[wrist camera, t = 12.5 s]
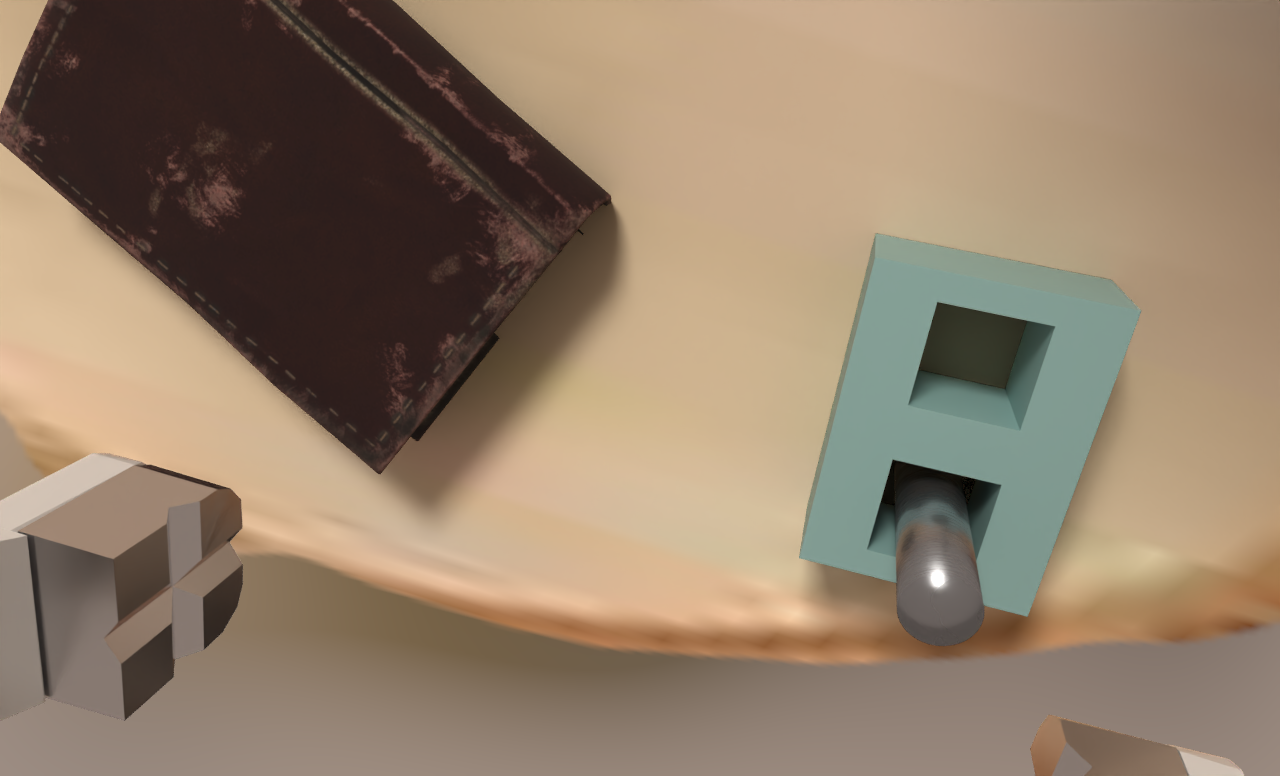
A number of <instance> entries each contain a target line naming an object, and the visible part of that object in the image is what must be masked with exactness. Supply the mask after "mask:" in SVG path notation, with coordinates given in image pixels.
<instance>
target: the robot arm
mask: <svg viewBox="0 0 1280 776" xmlns="http://www.w3.org/2000/svg"><path fill="white" fill-rule="evenodd" d="M241 529H242V511H241V499H240V498H239V497H238V496H237V495H236V494H235V493H234V492H233V491H232V490H231V489H230V488H226V487H223V486H220V485H216V484H213V483H210V482H206V481H203V480H200V479H196V478H193V477H190V476H186V475H183V474H180V473H176V472H173V471H170V470H166V469H163V468H159V467H156V466H153V465H146V464H144V463H143V462H139V461H135V460H132V459H128V458H124V457H121V456H117V455H113V454H106V453H92V454H90V455H88V456H86V457H84V458H82V459H80V460H78V461H77V462H75V463H73V464H71V465H69V466H67V467H65V468H63V469H61V470H59V471H57V472H55V473H53V474H51V475H49V476H47V477H45V478H43V479H41V480H40V481H38V482H36V483H34V484H32V485H30V486H28V487H26V488H24V489H22V490H20V491H18V492H16V493H14V494H12V495H11V496H8V497H6V498H5V499H3V500H1V501H0V721H1V720H4V719H6V718H8V717H11V716H13V715H16V714H18V713H20V712H23V711H25V710H28V709H30V708H32V707H35V706H37V705H40V704H42V703H44V702H45V698H49V699H52V700H56V701H59V702H62V703H66V704H70V705H73V706H76V707H80V708H83V709H86V710H90V711H93V712H97V713H100V714H103V715H107V716H110V717H114V718H117V719H121V720H124V721H125V720H126V719H127V718H128V717H129V716H131V715H132V714H133V713H134V712H135V711H136V710H137V709H138V708H139V707H141V706H142V705H143V704H144V703H145V702H146V701H147V700H148V699H150V698H151V697H152V696H153V695H154V694H155V693H156V692H157V691H159V690H160V689H161V688H162V687H163V686H164V685H165V684H166V683H167V682H169V681H170V680H171V679H172V678H173V677H174V666H175V665H174V664H175V659H178V658H181V657H183V656H187V655H190V654H193V653H196V652H199V651H202V650H204V649H205V648H206V647H207V646H209V645H210V644H211V643H212V642H213V641H214V640H215V639H216V638H217V637H218V636H219V635H220V634H221V633H222V632H223V631H224V629H225V627H226V626H227V624H228V622H229V620H230V619H231V617H232V615H233V613H234V612H235V610H236V608H237V606H238V601H239V597H240V593H241V589H242V585H243V564H242V562H241V561H240V559H239V557H238V556H237V554H236V552H235V551H234V549H233V547H232V546H231V544H230V541H231V540H232V539H233V538H234V536H235V535H236V534H237V533H238V532H239V531H240V530H241ZM1030 750H1031V755H1032V760H1033V765H1034V770H1035V775H1036V776H1244V774H1243V772H1242V770H1241V769H1240V768H1239V767H1238V766H1237V765H1236V764H1234V763H1233V762H1232V761H1231V760H1230V759H1227V758H1223V757H1219V756H1215V755H1210V754H1207V753H1203V752H1198V751H1194V750H1190V749H1186V748H1182V747H1178V746H1174V745H1170V744H1168V745H1164V744H1161V743H1157V742H1153V741H1149V740H1145V739H1141V738H1137V737H1134V736H1130V735H1126V734H1122V733H1118V732H1114V731H1111V730H1106V729H1103V728H1099V727H1095V726H1091V725H1088V724H1083V723H1080V722H1076V721H1072V720H1068V719H1064V718H1061V717H1057V716H1053V715H1048V716H1047V718H1046V719H1045V720H1044V722H1043V723H1042V724H1041V726H1040V727H1039V729H1038V732H1037V734H1036V736H1035V739H1034V741H1033V744H1032V746H1031V748H1030Z"/></svg>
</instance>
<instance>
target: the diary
mask: <svg viewBox="0 0 1280 776" xmlns="http://www.w3.org/2000/svg"><path fill="white" fill-rule="evenodd" d="M0 143H2V144H3V145H4V146H5V147H6V148H7V149H9V150H10V151H11V152H12V153H13V154H14V155H16V156H17V157H18V158H19V159H20V160H21V161H22V162H24V163H25V164H26V165H27V166H28V167H29V168H31V169H32V170H33V171H34V172H35V173H36V174H38V175H39V176H40V177H41V178H42V179H43V180H45V181H46V182H47V183H48V184H49V185H50V186H51V187H53V188H54V189H55V190H56V191H57V192H58V193H60V194H61V195H62V196H63V197H64V198H65V199H67V200H68V201H69V202H70V203H71V204H72V205H73V206H75V207H76V208H77V209H78V210H79V211H80V212H82V213H83V214H84V215H85V216H86V217H87V218H89V219H90V220H91V221H92V222H93V223H94V224H96V225H97V226H98V227H99V228H100V229H101V230H103V231H104V232H105V233H106V234H107V235H108V236H110V237H111V238H112V239H113V240H114V241H115V242H117V243H118V244H119V245H120V246H121V247H122V248H124V249H125V250H126V251H127V252H128V253H129V254H131V255H132V256H133V257H134V258H135V259H136V260H138V261H139V262H140V263H141V264H142V265H143V266H145V267H146V268H147V269H148V270H149V271H150V272H152V273H153V274H154V275H155V276H156V277H157V278H159V279H160V280H161V281H162V282H163V283H164V284H166V285H167V286H168V287H169V288H170V289H171V290H173V291H174V292H175V293H176V294H177V295H178V296H180V297H181V298H182V299H183V300H184V301H185V302H186V303H188V304H189V305H190V306H191V307H192V308H193V309H194V310H195V311H196V312H197V313H198V314H199V315H201V316H202V317H203V318H204V319H205V320H206V321H207V322H208V323H209V324H210V325H211V326H212V327H213V328H214V329H215V330H217V331H218V332H219V333H220V334H221V335H222V336H223V337H224V338H225V339H226V340H227V341H228V342H229V343H230V344H231V345H232V346H233V347H234V348H236V349H237V350H238V351H239V352H240V353H241V354H242V355H243V356H244V357H245V358H246V359H247V360H248V361H249V362H250V363H251V364H252V365H253V366H255V367H256V368H257V369H258V370H259V371H260V372H261V373H262V374H263V375H264V376H265V377H266V378H267V379H268V380H269V381H270V382H271V383H272V384H274V385H275V386H276V387H277V388H278V389H279V390H280V391H282V392H283V393H284V394H285V395H286V396H287V397H289V398H290V399H291V400H292V401H293V402H295V403H296V404H297V405H298V406H299V407H300V408H302V409H303V410H304V411H305V412H306V413H307V414H309V415H310V416H311V417H312V418H313V419H315V420H316V421H317V422H318V423H319V424H320V425H322V426H323V427H324V428H325V429H326V430H327V431H329V432H330V433H331V434H332V435H333V436H335V437H336V438H337V439H338V440H339V441H340V442H342V443H343V444H344V445H345V446H346V447H347V448H349V449H350V450H351V451H352V452H353V453H355V454H356V455H357V456H358V457H359V458H360V459H362V460H363V461H364V462H365V463H366V464H367V465H369V466H370V467H371V468H372V469H373V470H374V471H376V472H377V473H378V474H381V473H382V471H383V470H384V469H385V468H386V466H387V465H388V464H389V463H390V461H391V460H392V459H393V458H394V457H395V455H396V454H397V453H398V452H399V450H400V449H401V448H402V447H403V445H404V444H405V443H406V442H407V440H408V439H409V438H410V437H412V438H414V439H415V440H416V441H419V439H420V438H421V437H422V435H423V434H424V433H425V432H426V430H427V429H428V428H429V427H430V425H431V424H432V423H433V422H434V420H435V419H436V418H437V416H438V415H439V414H440V413H441V411H442V410H443V409H444V408H445V406H446V405H447V404H448V403H449V401H450V400H451V399H452V397H453V396H454V395H455V394H456V392H457V391H458V390H459V389H460V387H461V386H462V385H463V384H464V382H465V381H466V380H467V379H468V377H469V376H470V375H471V373H472V372H473V371H474V370H475V368H476V367H477V366H478V365H479V363H480V362H481V361H482V360H483V358H484V357H485V356H486V354H487V353H488V352H489V351H490V349H491V348H492V347H493V346H494V344H495V343H496V342H497V341H498V339H499V337H498V336H497V335H496V334H495V333H494V332H495V331H496V330H497V329H498V327H499V326H500V325H501V324H502V322H503V321H504V320H505V319H506V317H507V316H508V315H509V314H510V313H511V311H512V310H513V309H514V308H515V306H516V305H517V304H518V303H519V302H520V300H521V299H522V298H523V297H524V295H525V294H526V293H527V292H528V290H529V289H530V288H531V287H532V286H533V284H534V283H535V282H536V281H537V279H538V278H539V277H540V276H541V275H542V273H543V272H544V271H545V270H546V268H547V267H548V266H549V265H550V264H551V262H552V261H553V260H554V259H555V257H556V256H557V255H558V254H559V253H560V252H561V251H562V249H563V248H564V246H565V245H566V244H567V243H568V241H569V240H570V239H571V238H572V236H573V235H574V234H575V233H576V231H577V230H578V231H579V232H580V233H581V234H582V235H583V233H582V232H581V231H580V230H579V228H580V226H581V225H582V224H583V223H584V221H585V220H586V219H587V218H588V217H589V216H590V215H591V214H592V213H593V212H595V211H596V210H597V209H598V208H599V207H600V206H601V205H602V204H604V205H606V206H607V205H608V204H610V203H611V196H610V195H609V194H608V193H607V192H606V191H605V190H604V189H602V188H601V187H600V186H599V185H598V184H597V183H596V182H595V181H593V180H592V179H591V178H590V177H589V176H588V175H586V174H585V173H584V172H583V171H582V170H581V169H579V168H578V167H577V166H576V165H575V164H574V163H573V162H571V161H570V160H569V159H568V158H567V157H566V156H564V155H563V154H562V153H561V152H560V151H559V150H558V149H556V148H555V147H554V146H553V145H552V144H551V143H549V142H548V141H547V140H546V139H545V138H544V137H542V136H541V135H540V134H539V133H538V132H537V131H536V130H534V129H533V128H532V127H531V126H530V125H529V124H527V123H526V122H525V121H524V120H523V119H522V118H521V117H519V116H518V115H517V114H516V113H515V112H514V111H512V110H511V109H510V108H509V107H508V106H507V105H505V104H504V103H503V102H502V101H501V100H500V99H499V98H497V97H496V96H495V95H494V94H493V93H492V92H491V91H490V90H489V89H488V88H487V87H486V86H485V85H483V84H482V83H481V82H480V81H479V80H478V79H477V78H476V77H475V76H474V75H473V74H472V73H471V72H469V71H468V70H467V69H466V68H465V67H464V66H463V65H462V64H461V63H460V62H459V61H458V60H457V59H455V58H454V57H453V56H452V55H451V54H450V53H449V52H448V51H447V50H446V49H445V48H444V47H443V46H441V45H440V44H439V43H438V42H437V41H436V40H435V39H434V38H433V37H432V36H431V35H430V34H429V33H427V32H426V31H425V30H424V29H423V28H422V27H421V26H420V25H419V24H418V23H417V22H416V21H415V20H413V19H412V18H411V17H410V16H409V15H408V14H407V13H406V12H405V11H404V10H403V9H402V8H401V7H399V6H398V5H397V4H396V3H395V2H394V1H393V0H48V2H47V4H46V6H45V9H44V11H43V13H42V15H41V17H40V20H39V22H38V24H37V26H36V29H35V31H34V33H33V35H32V37H31V40H30V42H29V44H28V46H27V49H26V51H25V53H24V55H23V57H22V60H21V63H20V65H19V68H18V70H17V73H16V75H15V78H14V80H13V83H12V85H11V88H10V90H9V93H8V95H7V98H6V101H5V103H4V106H3V108H2V111H1V113H0Z"/></svg>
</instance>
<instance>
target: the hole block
mask: <svg viewBox="0 0 1280 776" xmlns="http://www.w3.org/2000/svg"><path fill="white" fill-rule="evenodd" d="M937 302H940V303H945V304H949V305H954V306H959V307H964V308H969V309H974V310H978V311H983V312H988V313H993V314H998V315H1003V316H1007V317H1012V318H1017V319H1022V320H1027V323H1026V326H1025V329H1024V332H1023V335H1022V338H1021V342H1020V345H1019V348H1018V351H1017V354H1016V357H1015V360H1014V363H1013V366H1012V369H1011V372H1010V375H1009V378H1008V382H1007V385H1006V388H1005V389H1003V388H998V387H994V386H989V385H984V384H980V383H975V382H971V381H966V380H962V379H957V378H953V377H948V376H943V375H939V374H934V373H930V372H925V371H921V370H918V368H919V365H920V361H921V358H922V354H923V351H924V347H925V344H926V340H927V337H928V333H929V330H930V326H931V323H932V319H933V316H934V312H935V308H936V305H937ZM1140 313H1141V310H1140V309H1139V308H1138V307H1137V306H1136V305H1135V304H1134V303H1133V302H1132V301H1131V300H1130V299H1129V298H1128V297H1127V296H1126V294H1125V293H1124V292H1123V291H1122V290H1121V289H1120V288H1119V287H1118V286H1117V285H1116V284H1115V283H1114V282H1113V281H1112V280H1109V279H1104V278H1099V277H1094V276H1089V275H1084V274H1079V273H1074V272H1069V271H1064V270H1059V269H1054V268H1049V267H1043V266H1038V265H1033V264H1028V263H1023V262H1018V261H1013V260H1008V259H1003V258H998V257H993V256H988V255H983V254H978V253H973V252H968V251H962V250H957V249H952V248H947V247H942V246H937V245H932V244H927V243H922V242H917V241H912V240H907V239H902V238H897V237H892V236H887V235H881V234H875V238H874V242H873V246H872V250H871V254H870V258H869V262H868V266H867V270H866V274H865V278H864V282H863V286H862V290H861V294H860V298H859V302H858V306H857V310H856V314H855V318H854V322H853V326H852V330H851V334H850V338H849V342H848V346H847V350H846V354H845V358H844V362H843V366H842V370H841V374H840V378H839V382H838V386H837V390H836V394H835V398H834V402H833V406H832V410H831V414H830V418H829V422H828V426H827V430H826V434H825V438H824V442H823V446H822V450H821V454H820V458H819V462H818V466H817V470H816V474H815V478H814V482H813V486H812V490H811V494H810V498H809V502H808V506H807V511H806V517H805V524H804V530H803V537H802V543H801V549H800V556H799V558H801V559H805V560H809V561H813V562H817V563H820V564H824V565H828V566H832V567H836V568H840V569H844V570H848V571H852V572H855V573H859V574H863V575H867V576H871V577H875V578H879V579H883V580H887V581H890V582H894V583H896V534H895V506H894V505H890V504H886V503H882V502H881V499H882V495H883V492H884V488H885V485H886V481H887V478H888V474H889V471H890V467H891V463H892V460H898V461H902V462H906V463H910V464H915V465H919V466H923V467H927V468H932V469H936V470H940V471H944V472H949V473H953V474H957V475H961V476H965V477H970V478H974V479H976V480H975V483H974V486H973V489H972V493H971V496H970V499H969V502H968V505H967V511H968V517H969V522H970V528H971V534H972V540H973V546H974V552H975V557H976V563H977V569H978V575H979V581H980V586H981V592H982V598H983V604H984V606H988V607H992V608H996V609H999V610H1003V611H1007V612H1011V613H1015V614H1019V615H1023V616H1027V617H1028V614H1029V612H1030V609H1031V606H1032V604H1033V601H1034V598H1035V596H1036V593H1037V590H1038V588H1039V585H1040V582H1041V579H1042V577H1043V574H1044V571H1045V569H1046V566H1047V563H1048V561H1049V558H1050V555H1051V553H1052V550H1053V547H1054V544H1055V542H1056V539H1057V536H1058V534H1059V531H1060V528H1061V526H1062V523H1063V520H1064V518H1065V515H1066V512H1067V510H1068V507H1069V504H1070V501H1071V499H1072V496H1073V493H1074V491H1075V488H1076V485H1077V483H1078V480H1079V477H1080V475H1081V472H1082V469H1083V466H1084V464H1085V461H1086V458H1087V456H1088V453H1089V450H1090V448H1091V445H1092V442H1093V440H1094V437H1095V434H1096V431H1097V429H1098V426H1099V423H1100V421H1101V418H1102V415H1103V413H1104V410H1105V407H1106V405H1107V402H1108V399H1109V396H1110V394H1111V391H1112V388H1113V386H1114V383H1115V380H1116V378H1117V375H1118V372H1119V370H1120V367H1121V364H1122V362H1123V359H1124V356H1125V353H1126V351H1127V348H1128V345H1129V343H1130V340H1131V337H1132V335H1133V332H1134V329H1135V327H1136V324H1137V321H1138V318H1139V316H1140Z"/></svg>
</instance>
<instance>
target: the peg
mask: <svg viewBox="0 0 1280 776" xmlns="http://www.w3.org/2000/svg"><path fill="white" fill-rule="evenodd" d="M894 482H895V534H896V586H897V614H898V618H899V620H900V622H901V624H902V626H903V627H904V628H905V630H906V631H907V632H908V633H909V634H910V635H912V636H913V637H914V638H916V639H918V640H920V641H922V642H924V643H927V644H931V645H936V646H949V645H955V644H958V643H961V642H964V641H966V640H967V639H969V638H970V637H972V636H973V635H974V634H975V633H976V632H977V631H978V630H979V628H980V626H981V624H982V622H983V619H984V604H983V598H982V592H981V586H980V581H979V575H978V569H977V563H976V557H975V552H974V546H973V540H972V534H971V528H970V522H969V517H968V511H967V505H966V499H965V493H964V487H963V482H962V476H961V475H957V474H953V473H949V472H944V471H940V470H936V469H932V468H927V467H923V466H919V465H915V464H910V463H906V462H902V461H898V460H896V462H895V466H894Z"/></svg>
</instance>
